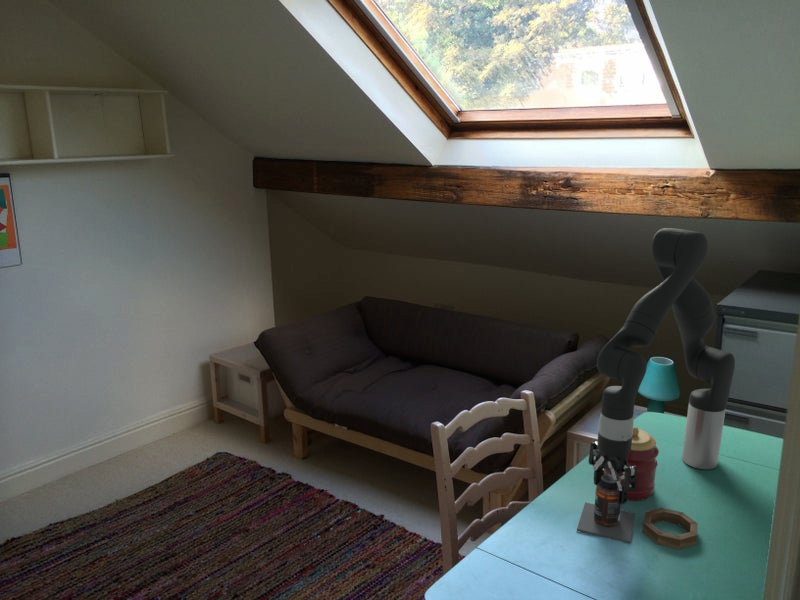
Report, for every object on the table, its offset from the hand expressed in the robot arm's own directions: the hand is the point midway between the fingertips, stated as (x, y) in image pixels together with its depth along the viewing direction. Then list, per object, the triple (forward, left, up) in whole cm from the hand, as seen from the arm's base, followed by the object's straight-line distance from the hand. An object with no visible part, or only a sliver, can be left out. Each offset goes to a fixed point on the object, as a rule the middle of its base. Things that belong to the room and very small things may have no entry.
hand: (609, 493), depth 163 cm
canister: (-18, +3, -8) cm, 20 cm away
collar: (-2, +14, -8) cm, 16 cm away
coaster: (0, 0, -8) cm, 8 cm away
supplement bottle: (0, 0, -8) cm, 8 cm away
